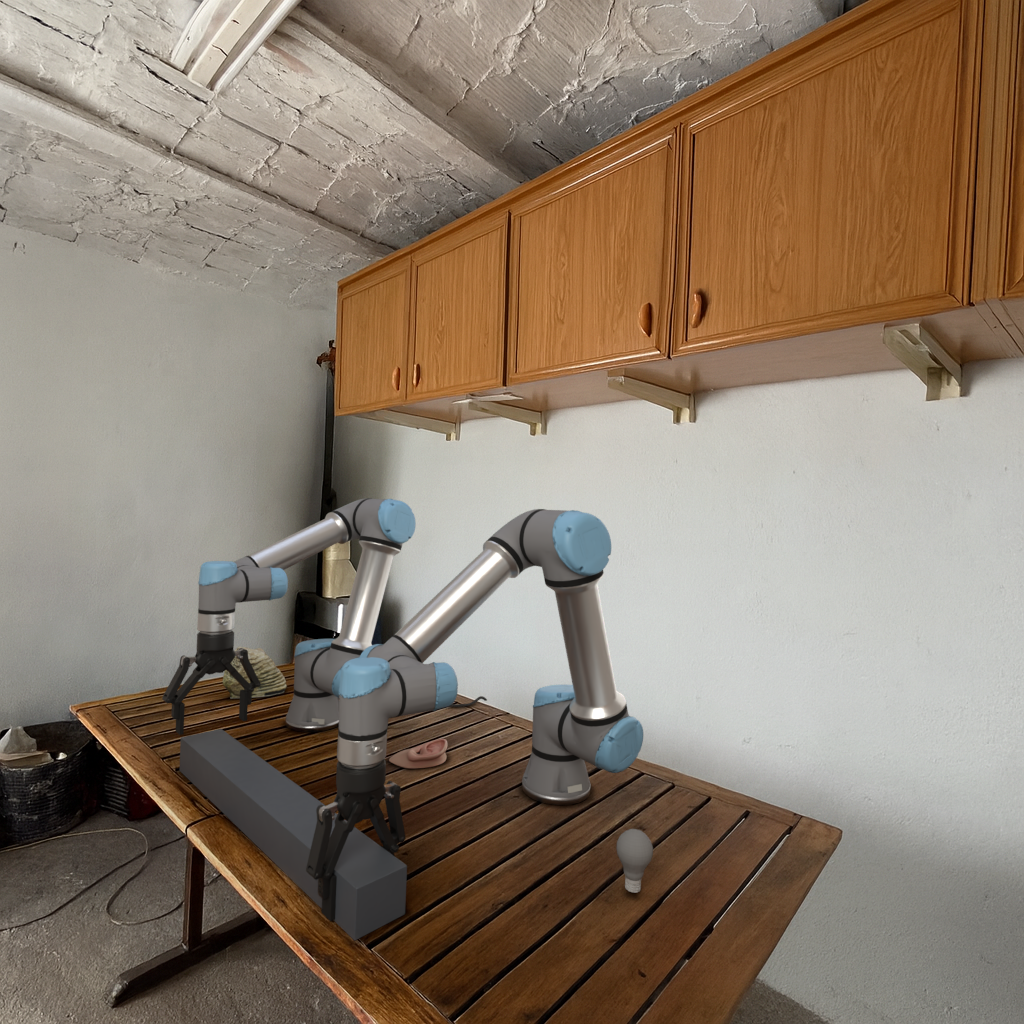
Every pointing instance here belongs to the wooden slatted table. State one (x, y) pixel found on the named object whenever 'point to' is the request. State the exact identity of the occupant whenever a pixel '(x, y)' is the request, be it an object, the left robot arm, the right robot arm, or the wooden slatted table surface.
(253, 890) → the wooden slatted table surface
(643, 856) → the light bulb
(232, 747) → the long dark gray bar
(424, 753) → the anatomical model
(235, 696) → the fossil
